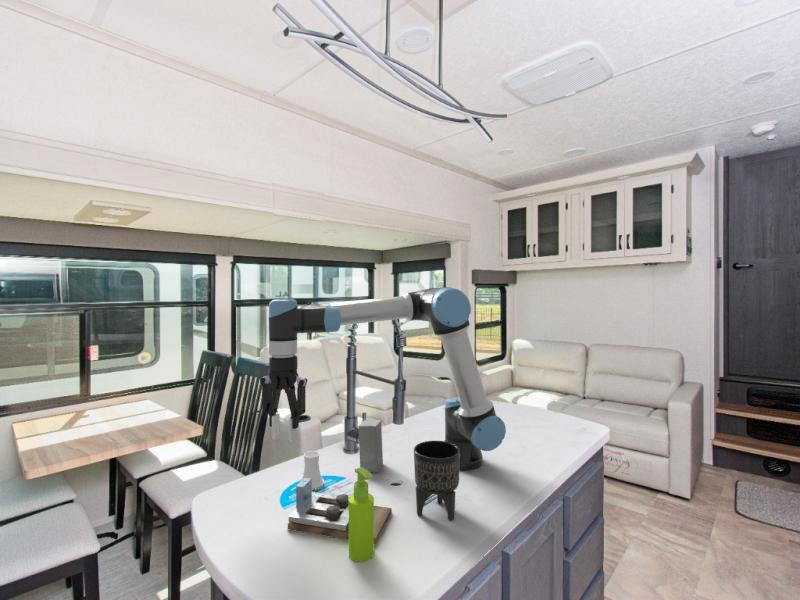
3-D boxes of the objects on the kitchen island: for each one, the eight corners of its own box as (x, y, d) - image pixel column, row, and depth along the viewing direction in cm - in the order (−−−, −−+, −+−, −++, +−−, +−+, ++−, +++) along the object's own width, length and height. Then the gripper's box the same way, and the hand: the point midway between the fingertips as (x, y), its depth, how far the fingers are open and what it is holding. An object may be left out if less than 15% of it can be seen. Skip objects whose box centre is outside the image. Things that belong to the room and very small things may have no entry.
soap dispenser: (359, 567, 89) (358, 479, 89) (344, 551, 95) (343, 468, 94) (381, 557, 93) (380, 472, 92) (365, 542, 98) (365, 461, 98)
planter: (469, 512, 112) (469, 449, 111) (439, 531, 103) (439, 463, 102) (434, 495, 121) (434, 436, 121) (404, 511, 112) (404, 448, 112)
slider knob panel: (363, 504, 113) (363, 478, 112) (345, 531, 100) (345, 501, 100) (312, 496, 117) (311, 471, 117) (288, 521, 104) (288, 493, 104)
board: (391, 513, 111) (391, 496, 111) (375, 544, 98) (375, 525, 97) (312, 501, 117) (312, 485, 117) (287, 529, 104) (287, 511, 104)
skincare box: (377, 473, 135) (377, 427, 135) (357, 471, 137) (357, 425, 136) (383, 462, 143) (383, 419, 143) (364, 461, 145) (364, 417, 144)
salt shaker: (315, 493, 122) (315, 460, 122) (294, 488, 125) (294, 456, 125) (328, 481, 129) (328, 451, 129) (308, 477, 132) (308, 448, 132)
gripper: (318, 354, 112) (319, 437, 113) (263, 352, 116) (264, 431, 117) (305, 358, 105) (306, 447, 105) (247, 356, 109) (248, 440, 110)
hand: (284, 438), depth 111 cm, fingers open, 4 cm apart
